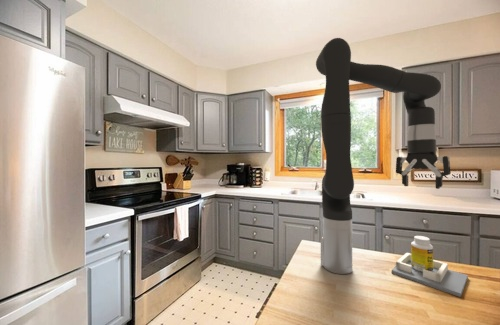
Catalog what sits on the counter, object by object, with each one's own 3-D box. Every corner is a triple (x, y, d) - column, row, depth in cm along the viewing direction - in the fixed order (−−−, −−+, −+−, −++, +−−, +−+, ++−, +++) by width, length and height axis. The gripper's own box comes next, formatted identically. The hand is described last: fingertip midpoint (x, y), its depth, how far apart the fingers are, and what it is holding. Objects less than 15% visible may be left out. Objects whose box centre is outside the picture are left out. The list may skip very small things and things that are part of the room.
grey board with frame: (391, 272, 69) (391, 263, 69) (405, 259, 78) (405, 251, 78) (460, 297, 57) (460, 286, 57) (467, 278, 66) (467, 268, 66)
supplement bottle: (429, 275, 66) (429, 242, 65) (408, 268, 70) (408, 237, 70) (435, 269, 69) (435, 238, 69) (414, 263, 73) (414, 233, 73)
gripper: (392, 140, 75) (393, 186, 76) (447, 136, 64) (447, 190, 64) (400, 141, 80) (400, 184, 80) (452, 137, 69) (452, 188, 69)
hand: (421, 187), depth 72 cm, fingers open, 8 cm apart
